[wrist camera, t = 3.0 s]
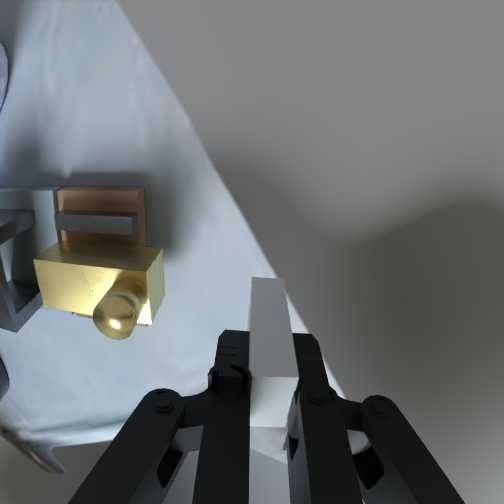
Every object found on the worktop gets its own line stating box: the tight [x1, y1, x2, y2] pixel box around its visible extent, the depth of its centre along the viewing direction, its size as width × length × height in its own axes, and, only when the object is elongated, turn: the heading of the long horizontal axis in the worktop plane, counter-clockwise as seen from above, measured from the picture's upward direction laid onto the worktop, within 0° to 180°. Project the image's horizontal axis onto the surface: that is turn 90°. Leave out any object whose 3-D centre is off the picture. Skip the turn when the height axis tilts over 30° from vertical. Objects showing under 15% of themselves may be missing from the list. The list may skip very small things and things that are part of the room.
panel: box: [0, 186, 148, 327], centre depth 18 cm, size 13×9×1 cm
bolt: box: [33, 240, 165, 340], centre depth 15 cm, size 7×3×5 cm, turn 85°
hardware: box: [0, 209, 139, 333], centre depth 15 cm, size 13×7×5 cm, turn 85°
